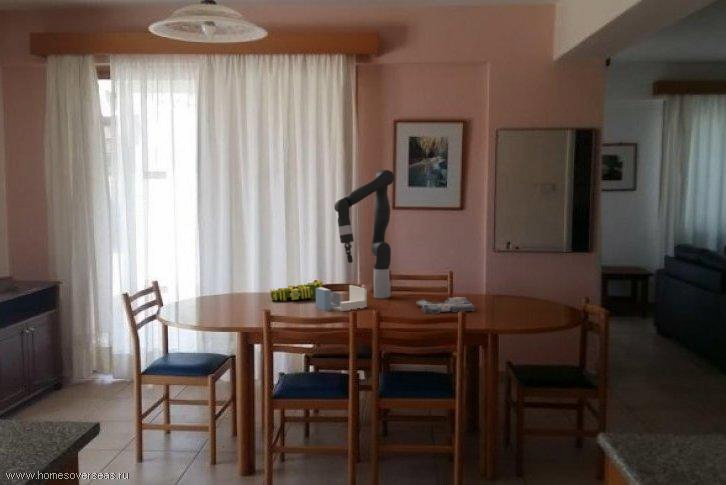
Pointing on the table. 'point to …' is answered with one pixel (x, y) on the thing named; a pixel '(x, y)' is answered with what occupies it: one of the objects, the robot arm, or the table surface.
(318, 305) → the light blue rectangular block
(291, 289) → the toy
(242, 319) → the table surface
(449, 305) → the futuristic firearm
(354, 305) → the white open holder
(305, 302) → the table surface
